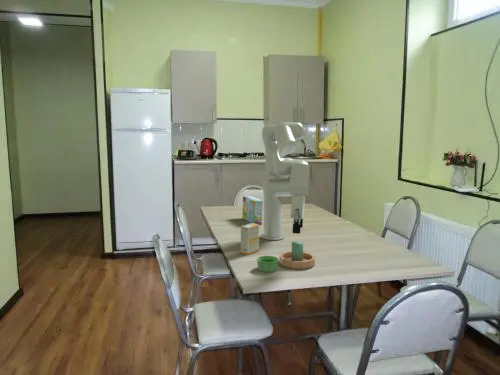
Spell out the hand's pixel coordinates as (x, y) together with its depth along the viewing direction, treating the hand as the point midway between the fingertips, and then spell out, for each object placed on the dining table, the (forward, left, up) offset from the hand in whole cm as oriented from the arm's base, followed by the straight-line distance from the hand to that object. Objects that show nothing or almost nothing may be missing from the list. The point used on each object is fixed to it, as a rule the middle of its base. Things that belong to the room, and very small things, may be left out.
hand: (297, 230), depth 174 cm
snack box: (-74, -36, -15) cm, 84 cm away
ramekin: (+11, -11, -15) cm, 21 cm away
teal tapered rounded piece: (0, 0, -13) cm, 13 cm away
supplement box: (-10, -23, -15) cm, 29 cm away
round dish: (+1, 0, -14) cm, 14 cm away
